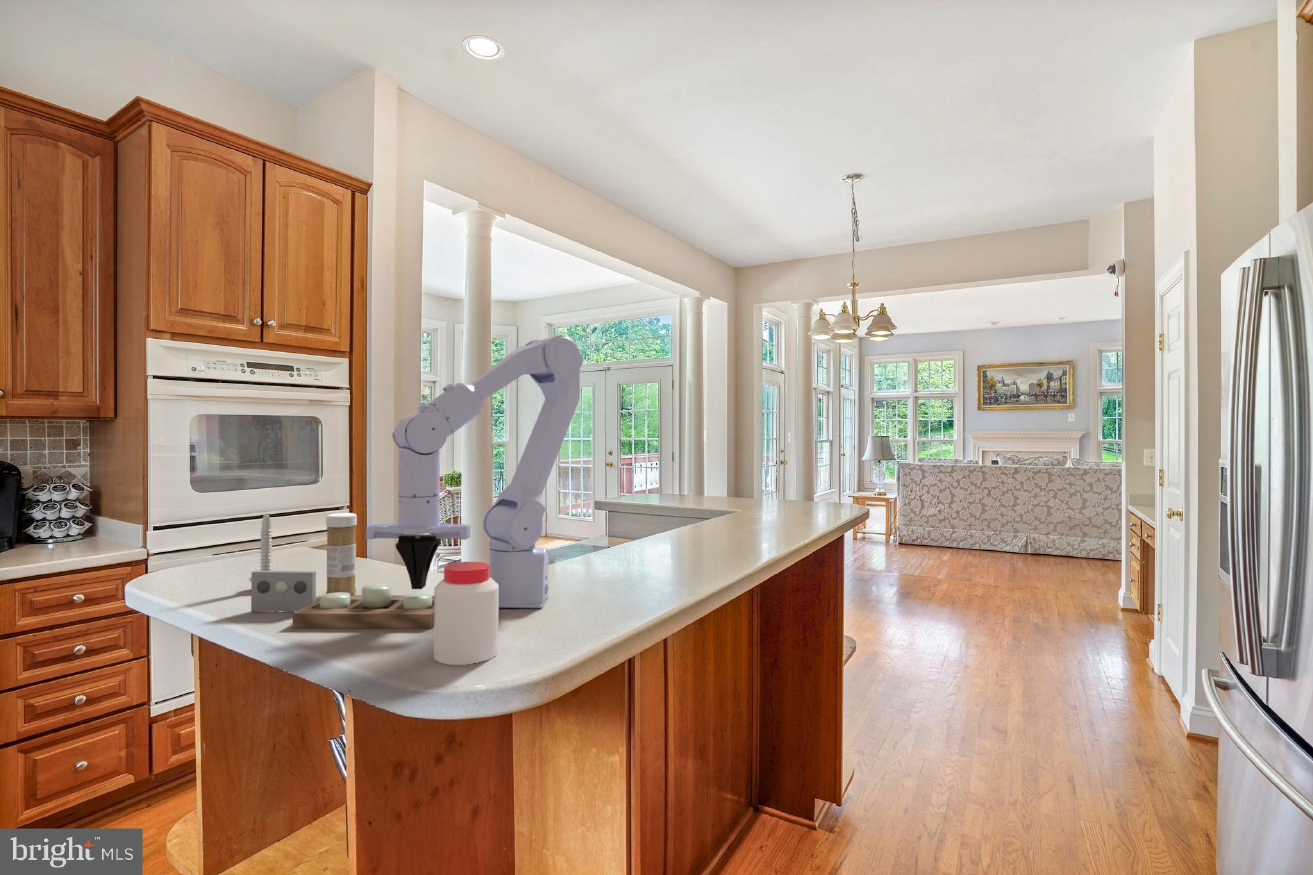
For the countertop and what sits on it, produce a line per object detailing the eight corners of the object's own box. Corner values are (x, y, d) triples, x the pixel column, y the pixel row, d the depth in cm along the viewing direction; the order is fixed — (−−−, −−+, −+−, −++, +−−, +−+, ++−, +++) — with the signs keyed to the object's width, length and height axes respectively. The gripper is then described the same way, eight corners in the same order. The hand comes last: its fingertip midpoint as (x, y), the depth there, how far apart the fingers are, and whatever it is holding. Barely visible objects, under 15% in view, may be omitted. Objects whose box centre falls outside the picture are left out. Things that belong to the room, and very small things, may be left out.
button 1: (354, 608, 96) (354, 592, 96) (342, 616, 92) (342, 599, 92) (327, 608, 96) (327, 592, 96) (314, 616, 92) (314, 599, 92)
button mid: (395, 600, 96) (395, 584, 96) (385, 607, 92) (385, 590, 92) (368, 600, 96) (368, 583, 96) (356, 607, 92) (356, 590, 92)
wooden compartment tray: (451, 608, 100) (451, 595, 100) (430, 628, 90) (431, 614, 90) (326, 607, 99) (327, 594, 99) (292, 627, 89) (292, 613, 89)
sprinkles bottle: (351, 589, 110) (352, 511, 110) (359, 595, 107) (360, 514, 107) (322, 593, 107) (323, 513, 107) (329, 599, 104) (329, 516, 104)
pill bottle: (436, 668, 75) (437, 574, 75) (430, 647, 82) (431, 562, 82) (503, 660, 78) (504, 570, 78) (492, 640, 85) (493, 558, 85)
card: (315, 610, 98) (315, 571, 97) (311, 612, 96) (312, 572, 96) (255, 610, 97) (255, 570, 97) (250, 612, 96) (250, 572, 96)
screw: (266, 585, 113) (288, 587, 111) (241, 591, 108) (264, 594, 107) (267, 510, 112) (289, 512, 111) (242, 514, 108) (265, 515, 106)
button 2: (435, 609, 97) (435, 592, 97) (427, 617, 93) (427, 600, 93) (408, 609, 97) (408, 592, 97) (398, 617, 93) (399, 599, 93)
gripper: (357, 498, 90) (357, 594, 90) (461, 498, 91) (461, 594, 91) (377, 492, 97) (377, 582, 97) (474, 493, 98) (473, 582, 98)
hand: (418, 587), depth 95 cm, fingers closed
